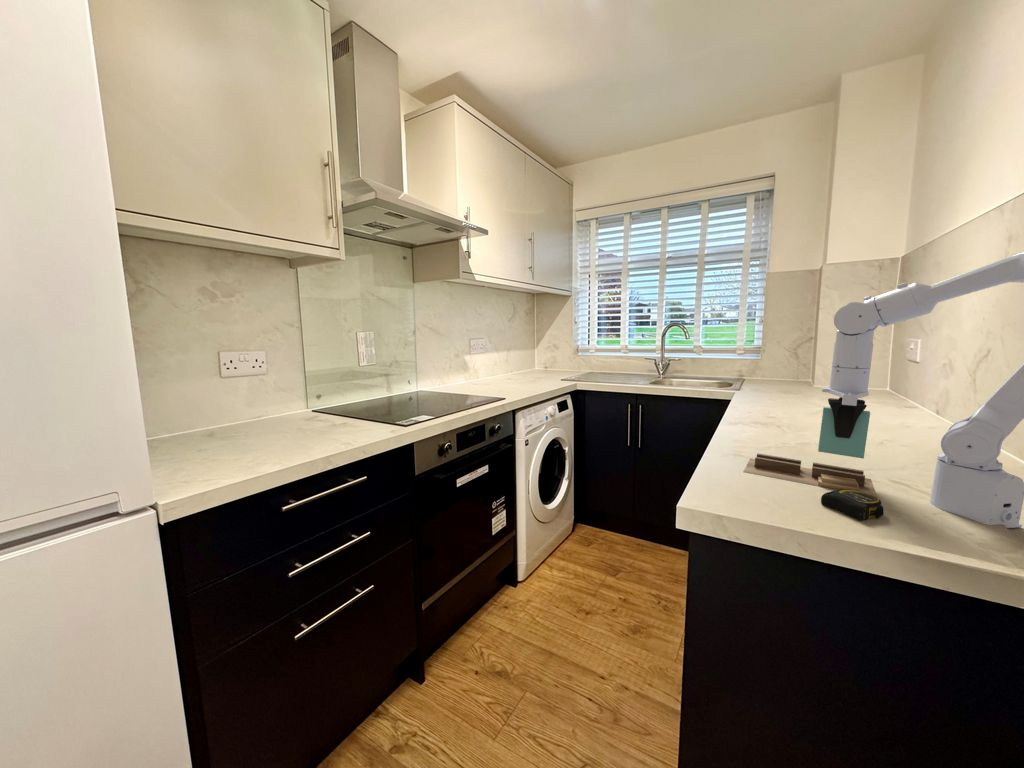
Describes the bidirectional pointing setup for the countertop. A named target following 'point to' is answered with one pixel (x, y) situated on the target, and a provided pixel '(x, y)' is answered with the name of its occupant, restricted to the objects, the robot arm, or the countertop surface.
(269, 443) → the countertop surface
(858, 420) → the teal sheet
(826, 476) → the upper oak offcut
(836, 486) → the lower oak offcut
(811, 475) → the walnut rack
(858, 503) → the tape measure
